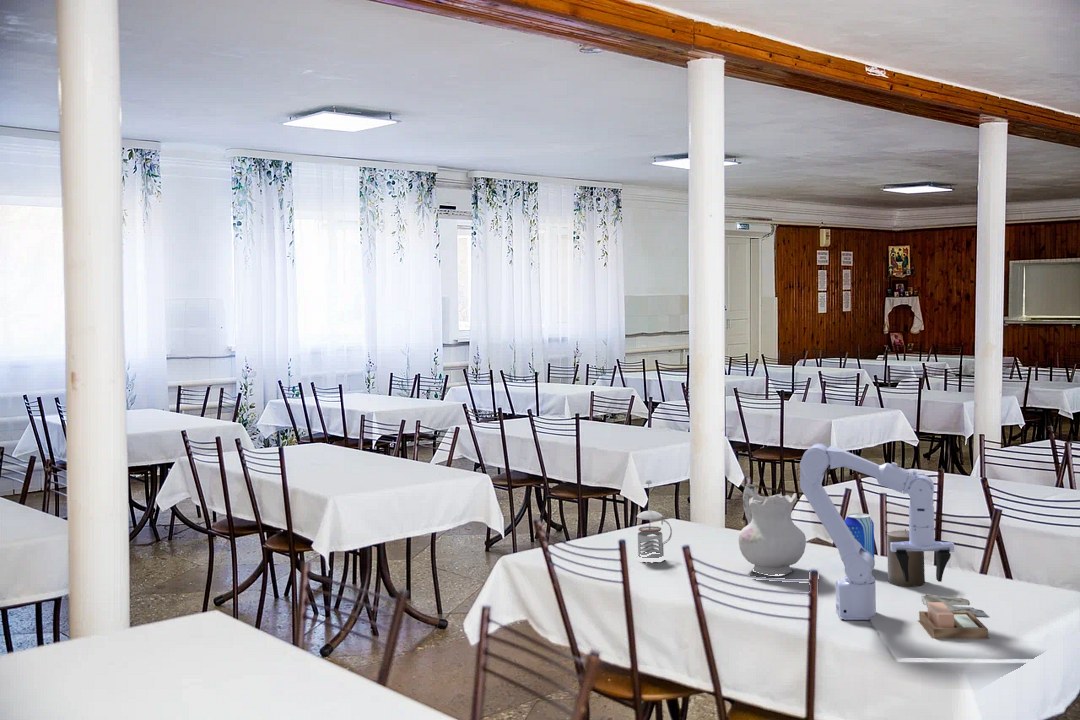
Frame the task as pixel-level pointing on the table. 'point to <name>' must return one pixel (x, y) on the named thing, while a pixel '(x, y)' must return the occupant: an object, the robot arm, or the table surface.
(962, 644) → the table surface
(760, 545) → the ceramic pitcher
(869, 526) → the beer can
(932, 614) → the clay bar
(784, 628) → the table surface
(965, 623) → the glazed tile
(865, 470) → the robot arm
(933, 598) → the fossil rock
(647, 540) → the french press
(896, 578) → the pillar candle
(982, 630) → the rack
